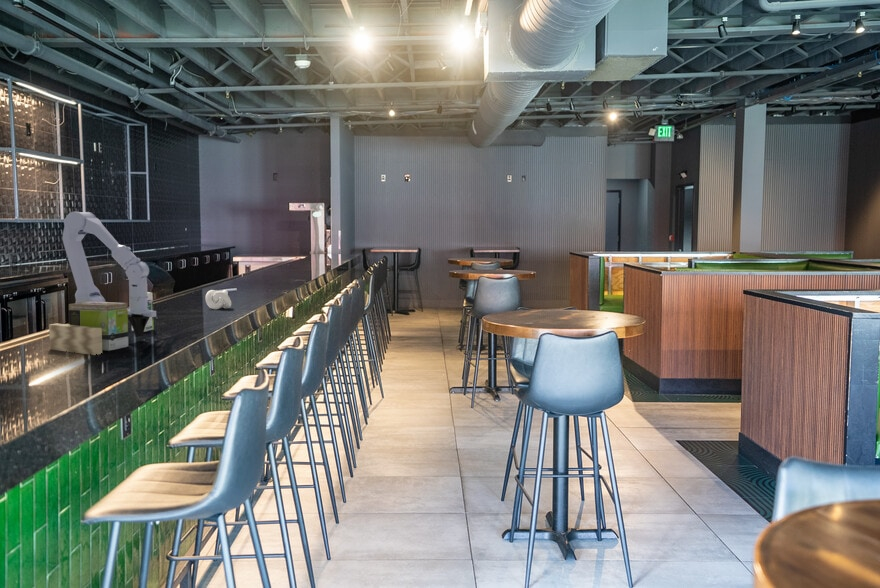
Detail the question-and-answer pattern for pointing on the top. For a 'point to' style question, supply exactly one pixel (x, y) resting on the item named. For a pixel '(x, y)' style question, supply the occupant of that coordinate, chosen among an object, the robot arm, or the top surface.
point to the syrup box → (149, 307)
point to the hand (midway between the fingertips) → (139, 336)
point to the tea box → (103, 321)
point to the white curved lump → (218, 299)
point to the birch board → (75, 338)
